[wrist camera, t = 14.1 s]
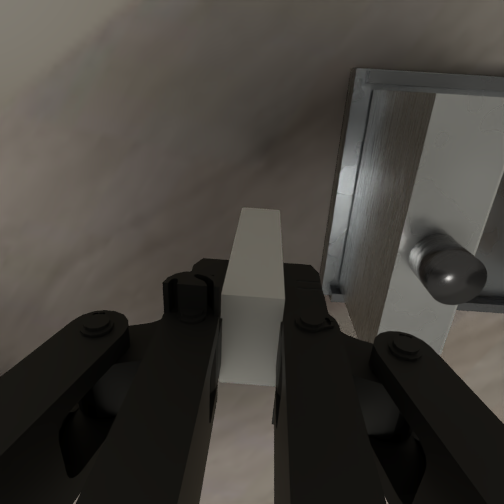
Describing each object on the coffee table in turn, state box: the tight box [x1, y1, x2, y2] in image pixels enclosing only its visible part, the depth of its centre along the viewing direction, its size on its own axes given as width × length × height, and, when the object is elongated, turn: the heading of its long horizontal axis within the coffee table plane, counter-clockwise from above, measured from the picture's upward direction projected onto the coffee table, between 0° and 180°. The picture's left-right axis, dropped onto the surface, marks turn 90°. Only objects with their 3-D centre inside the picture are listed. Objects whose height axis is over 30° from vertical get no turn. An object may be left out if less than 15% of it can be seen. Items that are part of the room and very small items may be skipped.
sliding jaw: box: [339, 90, 504, 355], centre depth 18 cm, size 4×12×10 cm, turn 177°
